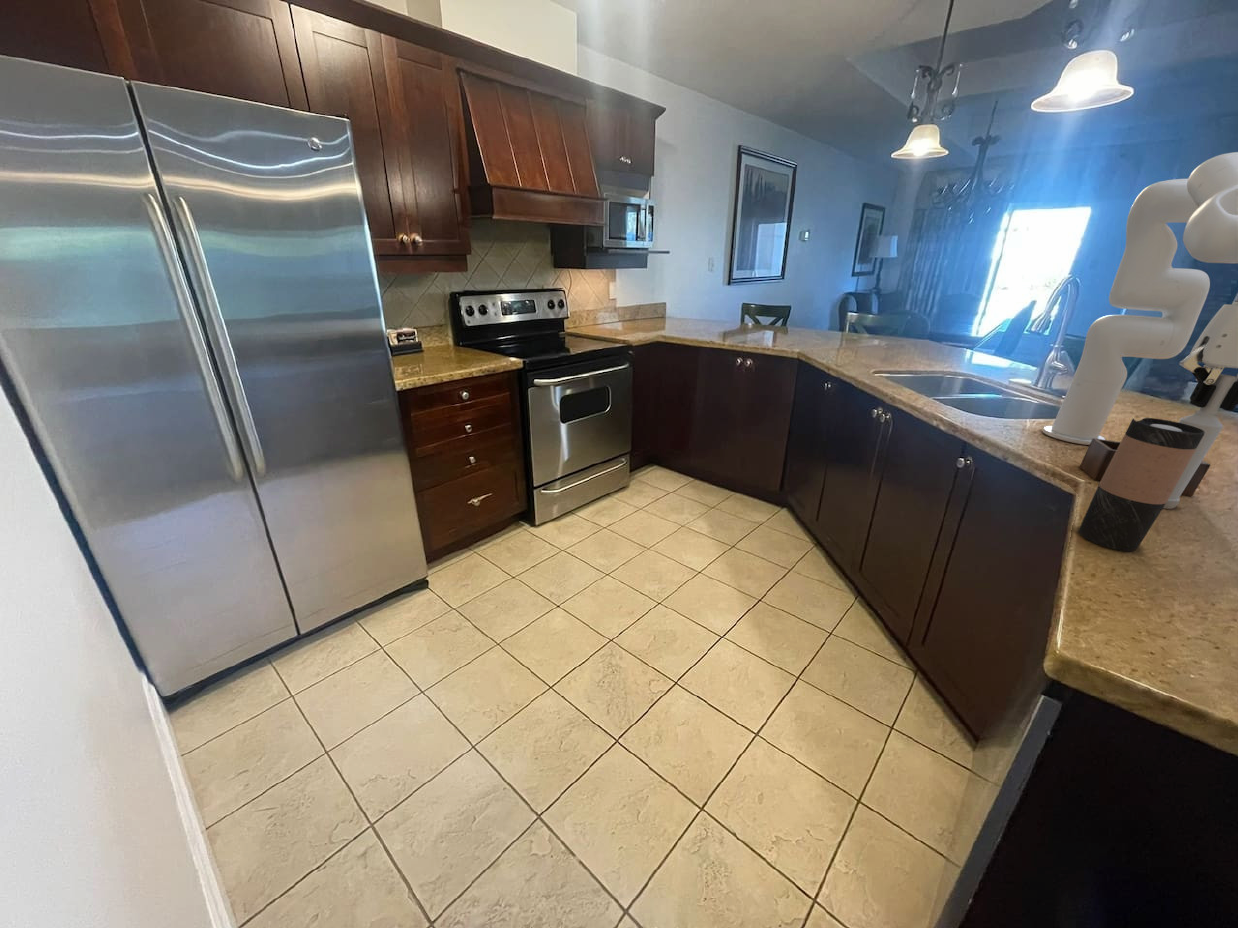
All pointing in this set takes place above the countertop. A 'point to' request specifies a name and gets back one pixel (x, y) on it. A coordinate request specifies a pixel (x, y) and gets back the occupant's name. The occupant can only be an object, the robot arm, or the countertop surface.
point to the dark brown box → (1103, 453)
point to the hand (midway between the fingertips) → (1210, 406)
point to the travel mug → (1139, 482)
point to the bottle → (1211, 427)
